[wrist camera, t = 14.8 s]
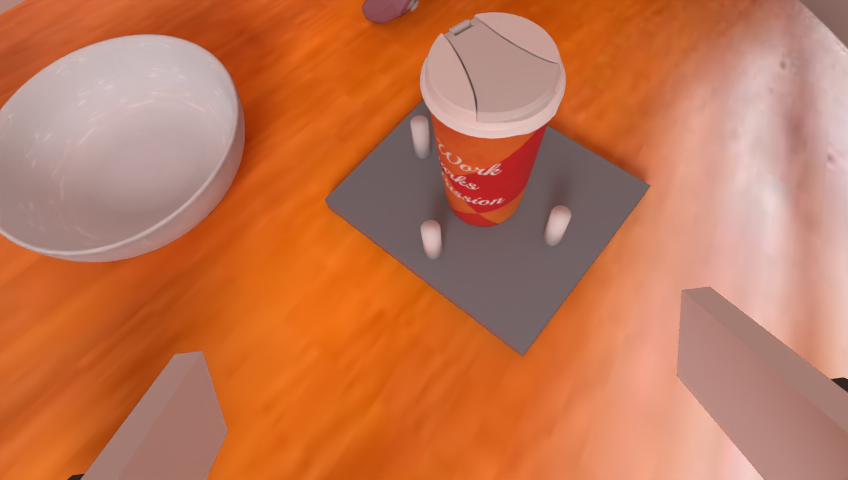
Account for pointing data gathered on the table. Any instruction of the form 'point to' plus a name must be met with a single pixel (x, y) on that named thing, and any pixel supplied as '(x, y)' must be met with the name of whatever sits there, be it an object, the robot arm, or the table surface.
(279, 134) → the table surface
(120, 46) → the serving bowl
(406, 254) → the plate
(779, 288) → the table surface
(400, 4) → the purple lumpy piece
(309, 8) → the table surface
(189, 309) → the table surface
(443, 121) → the coffee cup
